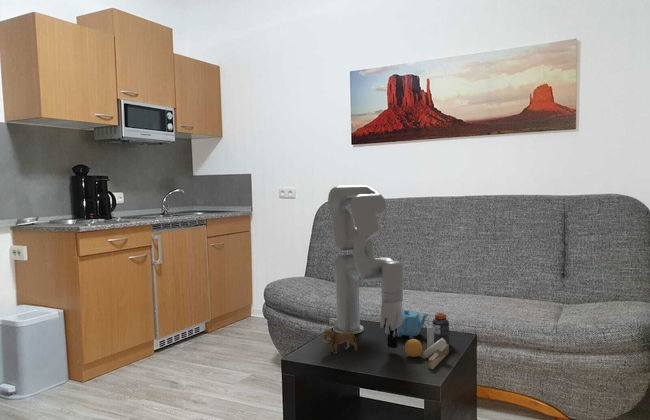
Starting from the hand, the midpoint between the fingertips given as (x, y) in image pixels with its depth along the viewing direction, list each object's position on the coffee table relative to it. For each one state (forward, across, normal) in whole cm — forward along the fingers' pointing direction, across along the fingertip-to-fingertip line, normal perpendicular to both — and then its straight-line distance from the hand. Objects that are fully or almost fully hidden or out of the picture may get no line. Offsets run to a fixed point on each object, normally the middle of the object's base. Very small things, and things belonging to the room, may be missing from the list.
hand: (392, 346), depth 169 cm
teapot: (+3, -22, -3) cm, 22 cm away
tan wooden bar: (+2, 0, +17) cm, 17 cm away
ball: (-1, +1, +8) cm, 8 cm away
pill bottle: (+2, -17, +12) cm, 21 cm away
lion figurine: (+2, +8, -17) cm, 19 cm away
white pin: (+1, 0, +12) cm, 12 cm away
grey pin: (+2, -8, +11) cm, 14 cm away
